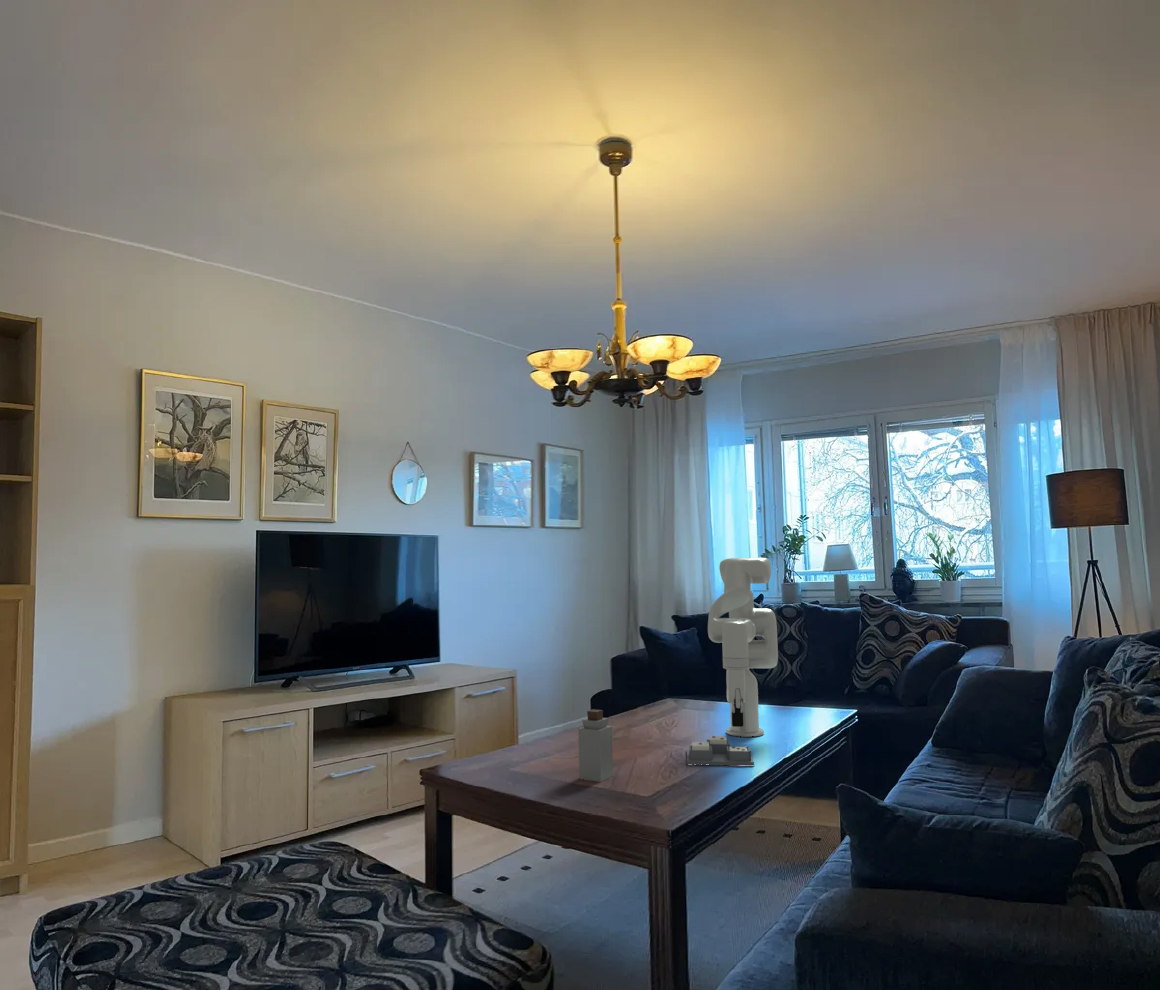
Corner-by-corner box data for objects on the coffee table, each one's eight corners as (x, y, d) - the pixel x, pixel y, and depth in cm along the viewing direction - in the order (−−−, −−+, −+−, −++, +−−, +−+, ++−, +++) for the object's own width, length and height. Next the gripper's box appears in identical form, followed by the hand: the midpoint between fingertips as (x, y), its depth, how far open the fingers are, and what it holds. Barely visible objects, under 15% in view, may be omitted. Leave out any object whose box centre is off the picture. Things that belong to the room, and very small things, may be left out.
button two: (709, 742, 244) (709, 735, 244) (725, 743, 243) (725, 735, 243) (710, 746, 239) (709, 739, 239) (726, 746, 238) (726, 739, 239)
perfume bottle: (591, 773, 222) (590, 707, 223) (612, 776, 218) (611, 709, 220) (579, 778, 216) (578, 711, 217) (600, 782, 212) (599, 713, 214)
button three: (729, 753, 235) (729, 746, 235) (746, 754, 234) (746, 746, 234) (730, 757, 230) (730, 750, 230) (747, 758, 229) (747, 750, 229)
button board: (686, 750, 246) (686, 738, 247) (748, 751, 244) (748, 739, 244) (687, 765, 229) (687, 751, 229) (754, 766, 226) (753, 752, 227)
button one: (691, 748, 236) (691, 741, 236) (708, 749, 236) (708, 741, 236) (692, 752, 231) (692, 745, 231) (709, 753, 231) (709, 745, 231)
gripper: (721, 659, 242) (723, 720, 241) (724, 666, 227) (726, 731, 226) (746, 659, 241) (748, 720, 240) (750, 666, 227) (753, 731, 225)
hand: (737, 725), depth 233 cm, fingers closed
